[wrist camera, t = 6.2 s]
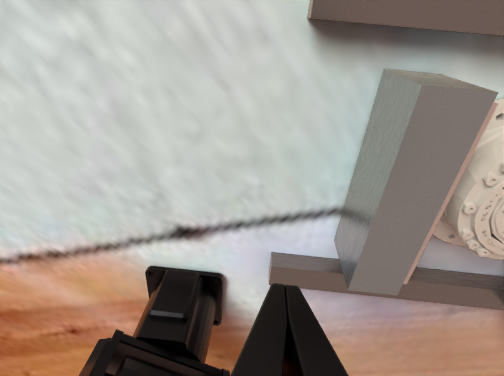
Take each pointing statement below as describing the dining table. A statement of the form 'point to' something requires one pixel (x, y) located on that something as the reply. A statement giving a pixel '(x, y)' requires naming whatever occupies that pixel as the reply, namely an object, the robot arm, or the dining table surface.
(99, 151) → the dining table surface
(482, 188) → the mechanical component
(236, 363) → the robot arm
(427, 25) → the vise
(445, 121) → the block
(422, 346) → the dining table surface
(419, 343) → the dining table surface
